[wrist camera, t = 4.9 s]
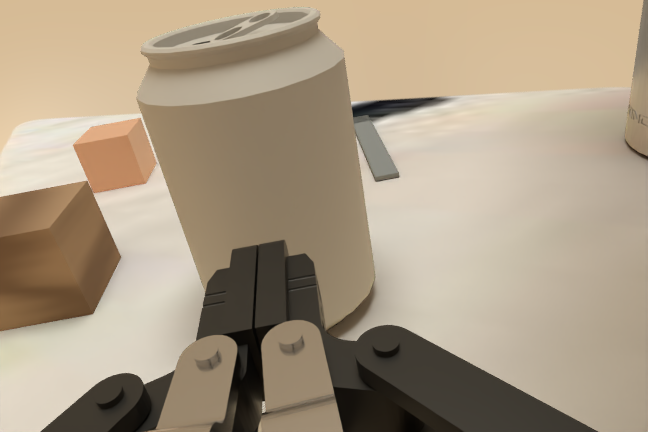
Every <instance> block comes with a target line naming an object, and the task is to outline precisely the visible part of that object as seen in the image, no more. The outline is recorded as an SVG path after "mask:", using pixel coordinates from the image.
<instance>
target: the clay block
mask: <svg viewBox="0 0 648 432" xmlns="http://www.w3.org/2000/svg"><path fill="white" fill-rule="evenodd" d="M73 147H74V149H75V151H76V153H77V156H78V158H79V160H80V163H81V165H82V167H83V169H84V172H85V174H86V176H87V178H88V181H89V183H90V185H91V188H92V190H93V192H94V193H97V192H102V191H108V190H113V189H118V188H124V187H129V186H134V185H140V184H145V183H146V182H147V180H148V178H149V176H150V174H151V173H152V171H153V169H154V167H155V165H156V160H155V157H154V154H153V151H152V149H151V146H150V143H149V140H148V137H147V135H146V132H145V129H144V126H143V124H142V121H141V118H137V119H132V120H127V121H121V122H116V123H111V124H106V125H100V126H95V127H91V128H90V129H89V130H88V131H87V132H86V133H85V134H84V135H83V136H82V137H81V138H80V139H79V140H78V141H76V142H75V143H74V144H73Z"/></svg>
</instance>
